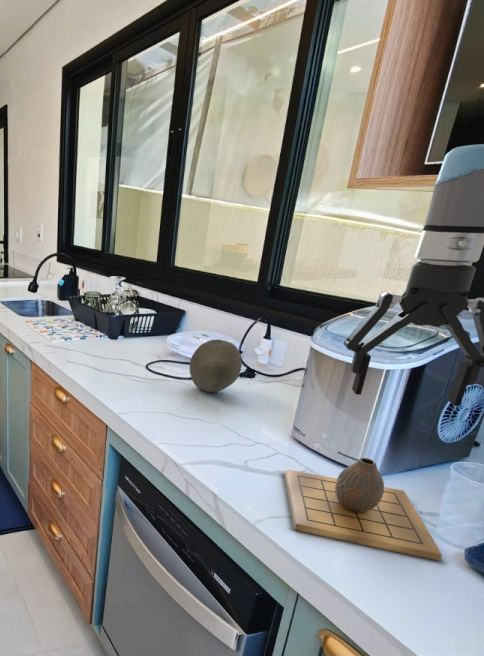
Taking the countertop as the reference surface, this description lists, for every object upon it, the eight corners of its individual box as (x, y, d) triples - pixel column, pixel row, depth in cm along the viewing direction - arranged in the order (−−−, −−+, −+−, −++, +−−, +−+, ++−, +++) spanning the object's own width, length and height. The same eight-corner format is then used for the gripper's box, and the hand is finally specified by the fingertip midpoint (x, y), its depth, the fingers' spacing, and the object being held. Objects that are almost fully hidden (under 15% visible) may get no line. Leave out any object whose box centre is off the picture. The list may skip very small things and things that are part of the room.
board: (402, 496, 93) (404, 490, 93) (439, 561, 76) (442, 554, 75) (284, 474, 100) (285, 468, 99) (294, 529, 82) (295, 523, 82)
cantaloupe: (175, 390, 145) (183, 339, 139) (202, 380, 153) (210, 332, 148) (220, 404, 135) (230, 350, 129) (246, 393, 143) (256, 342, 138)
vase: (338, 513, 85) (352, 467, 82) (325, 492, 91) (338, 449, 88) (383, 519, 84) (399, 473, 80) (367, 498, 90) (381, 454, 86)
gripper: (354, 260, 75) (322, 394, 83) (566, 269, 67) (509, 416, 75) (344, 256, 82) (315, 381, 89) (536, 264, 74) (486, 400, 82)
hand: (403, 397), depth 82 cm, fingers open, 13 cm apart
